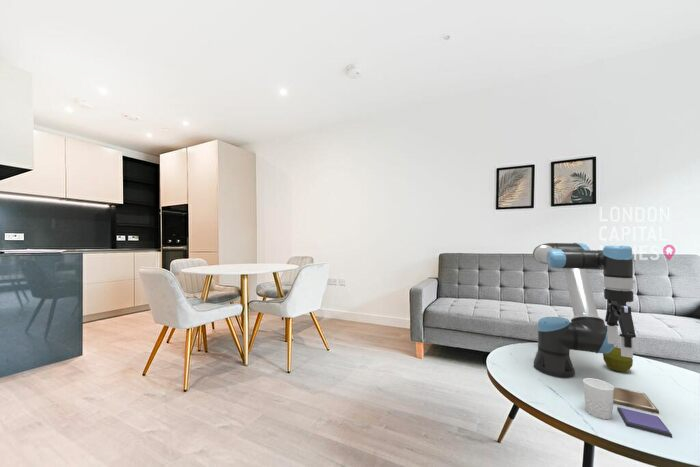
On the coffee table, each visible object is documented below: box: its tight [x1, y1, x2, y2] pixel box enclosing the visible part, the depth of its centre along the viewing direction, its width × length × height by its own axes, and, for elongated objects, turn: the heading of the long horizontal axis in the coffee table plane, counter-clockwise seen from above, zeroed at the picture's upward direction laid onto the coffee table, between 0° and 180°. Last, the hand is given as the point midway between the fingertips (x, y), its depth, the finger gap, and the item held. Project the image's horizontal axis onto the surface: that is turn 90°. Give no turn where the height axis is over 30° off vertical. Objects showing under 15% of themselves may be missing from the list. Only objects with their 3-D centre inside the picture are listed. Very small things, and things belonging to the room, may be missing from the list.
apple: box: [602, 346, 634, 373], centre depth 128 cm, size 10×10×11 cm
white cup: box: [582, 377, 615, 420], centre depth 96 cm, size 8×8×10 cm
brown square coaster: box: [613, 386, 660, 415], centre depth 104 cm, size 13×13×1 cm
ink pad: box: [616, 406, 673, 438], centre depth 91 cm, size 10×10×1 cm
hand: (619, 349), depth 99 cm, fingers open, 13 cm apart
